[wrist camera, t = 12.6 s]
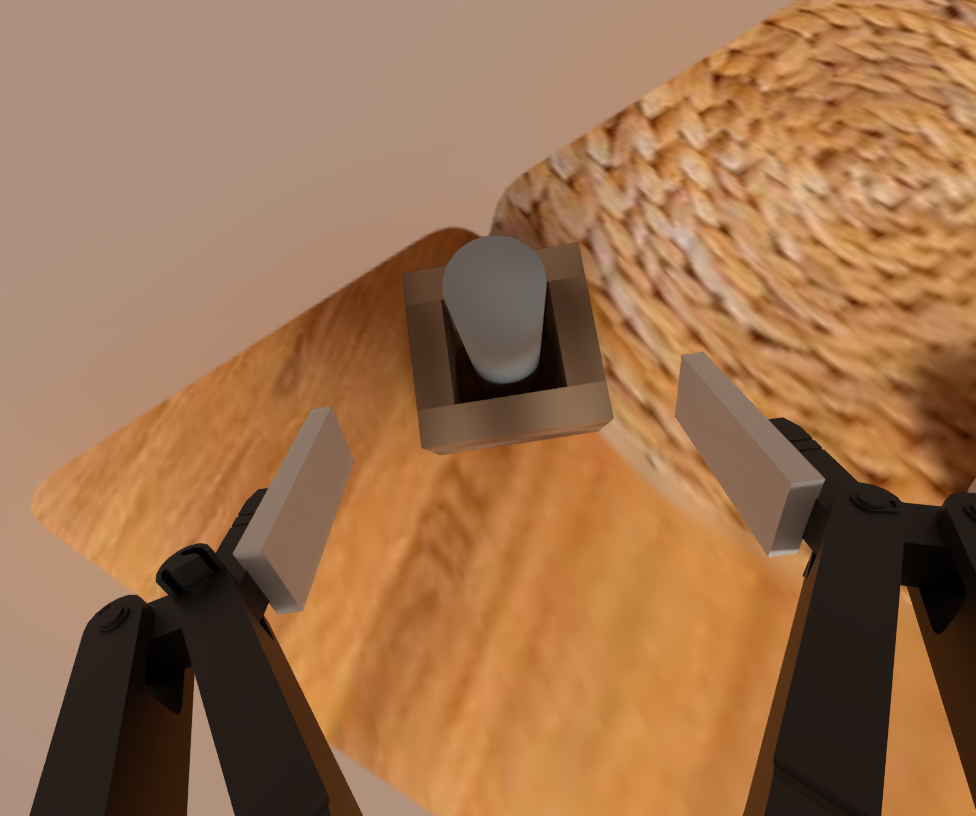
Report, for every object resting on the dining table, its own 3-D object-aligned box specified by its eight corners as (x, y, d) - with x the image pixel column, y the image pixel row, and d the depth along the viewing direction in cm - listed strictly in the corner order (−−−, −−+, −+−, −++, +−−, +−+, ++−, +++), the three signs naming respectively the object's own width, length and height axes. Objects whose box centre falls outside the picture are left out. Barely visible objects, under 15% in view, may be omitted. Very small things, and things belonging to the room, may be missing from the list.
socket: (569, 283, 29) (578, 241, 24) (598, 431, 27) (613, 418, 22) (422, 308, 30) (402, 273, 25) (440, 455, 28) (421, 447, 23)
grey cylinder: (533, 334, 29) (537, 226, 17) (543, 393, 28) (554, 322, 16) (473, 344, 29) (436, 245, 17) (481, 402, 28) (448, 340, 17)
